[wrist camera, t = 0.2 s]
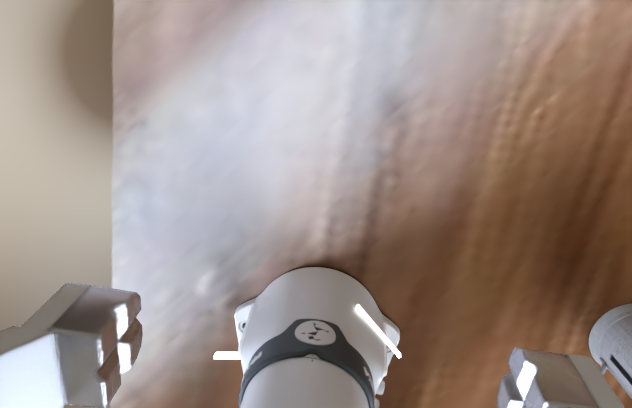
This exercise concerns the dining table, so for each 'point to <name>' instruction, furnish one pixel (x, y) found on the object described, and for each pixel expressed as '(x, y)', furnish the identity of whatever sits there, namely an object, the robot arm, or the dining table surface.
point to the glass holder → (614, 344)
